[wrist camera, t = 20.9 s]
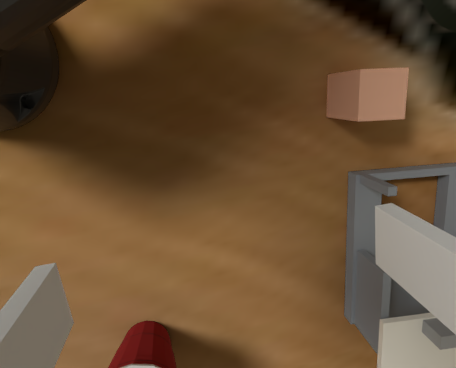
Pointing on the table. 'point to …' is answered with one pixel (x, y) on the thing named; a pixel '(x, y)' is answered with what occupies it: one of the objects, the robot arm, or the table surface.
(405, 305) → the sliding door cubby
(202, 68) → the table surface
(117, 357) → the plastic cup
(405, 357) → the cover
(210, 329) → the table surface
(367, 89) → the block
